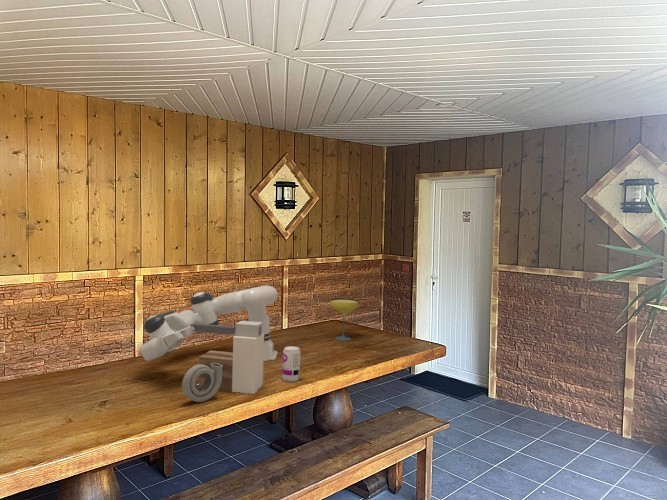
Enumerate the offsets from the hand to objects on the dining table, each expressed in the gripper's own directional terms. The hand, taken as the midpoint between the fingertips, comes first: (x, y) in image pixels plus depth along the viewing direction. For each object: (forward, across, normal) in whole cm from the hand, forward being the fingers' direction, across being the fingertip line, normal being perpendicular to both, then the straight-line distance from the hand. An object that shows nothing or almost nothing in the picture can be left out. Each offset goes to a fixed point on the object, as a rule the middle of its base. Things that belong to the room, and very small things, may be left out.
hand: (196, 326), depth 227 cm
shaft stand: (+8, 0, -35) cm, 36 cm away
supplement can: (+21, -18, -43) cm, 51 cm away
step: (-3, 0, -28) cm, 29 cm away
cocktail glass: (+31, -108, -48) cm, 122 cm away
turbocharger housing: (-3, +19, -29) cm, 34 cm away
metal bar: (+6, 0, -6) cm, 8 cm away
